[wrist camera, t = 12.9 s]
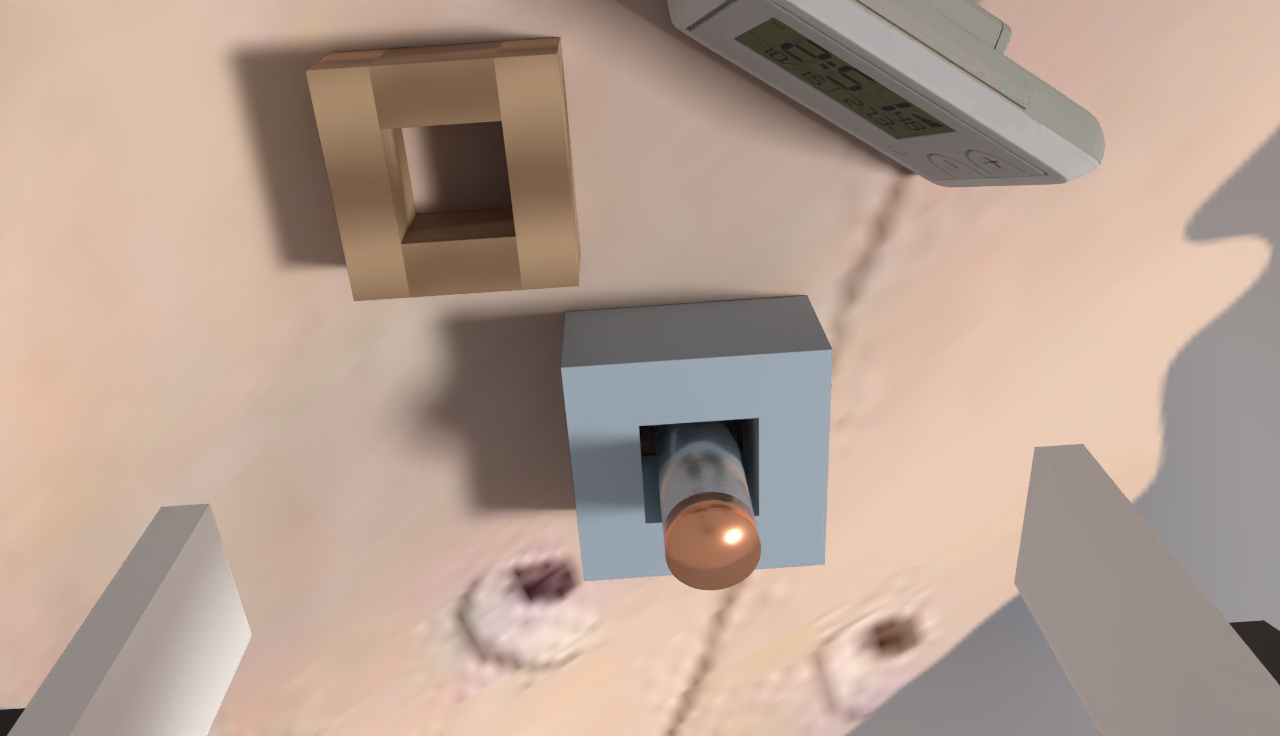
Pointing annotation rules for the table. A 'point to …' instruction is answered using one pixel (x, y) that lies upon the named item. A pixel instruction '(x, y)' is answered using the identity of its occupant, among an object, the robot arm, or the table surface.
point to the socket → (697, 392)
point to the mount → (380, 183)
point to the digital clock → (908, 83)
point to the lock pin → (705, 505)
